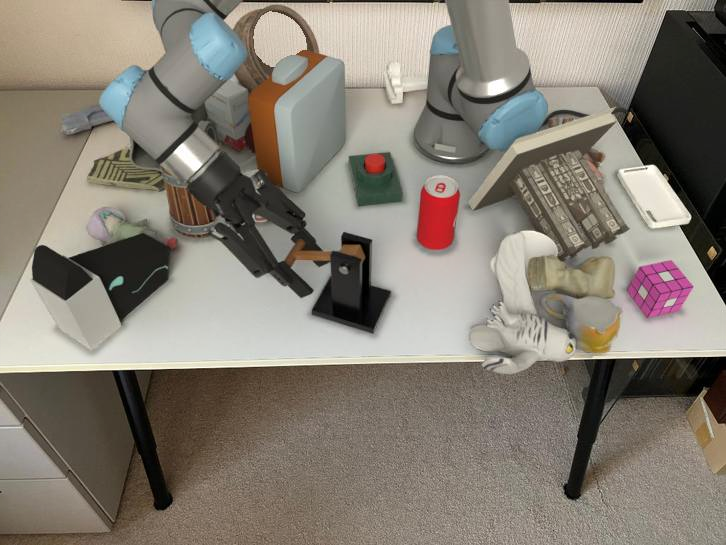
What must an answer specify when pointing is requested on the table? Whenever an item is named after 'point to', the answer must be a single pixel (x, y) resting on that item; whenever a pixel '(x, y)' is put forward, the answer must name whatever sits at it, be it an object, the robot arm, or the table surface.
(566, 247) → the building model
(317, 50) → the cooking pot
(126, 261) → the decorative object
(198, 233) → the mug
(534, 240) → the cup
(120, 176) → the pottery shard
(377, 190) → the button box
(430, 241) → the beverage can
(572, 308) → the mug
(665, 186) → the phone case
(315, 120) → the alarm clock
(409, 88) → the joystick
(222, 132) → the ink box
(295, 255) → the lever
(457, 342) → the table surface
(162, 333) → the table surface
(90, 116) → the handgun
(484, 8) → the robot arm
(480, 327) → the toy
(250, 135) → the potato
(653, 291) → the puzzle toy
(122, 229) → the toy
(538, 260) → the sculpture
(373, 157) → the button
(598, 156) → the figurine
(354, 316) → the bracket
